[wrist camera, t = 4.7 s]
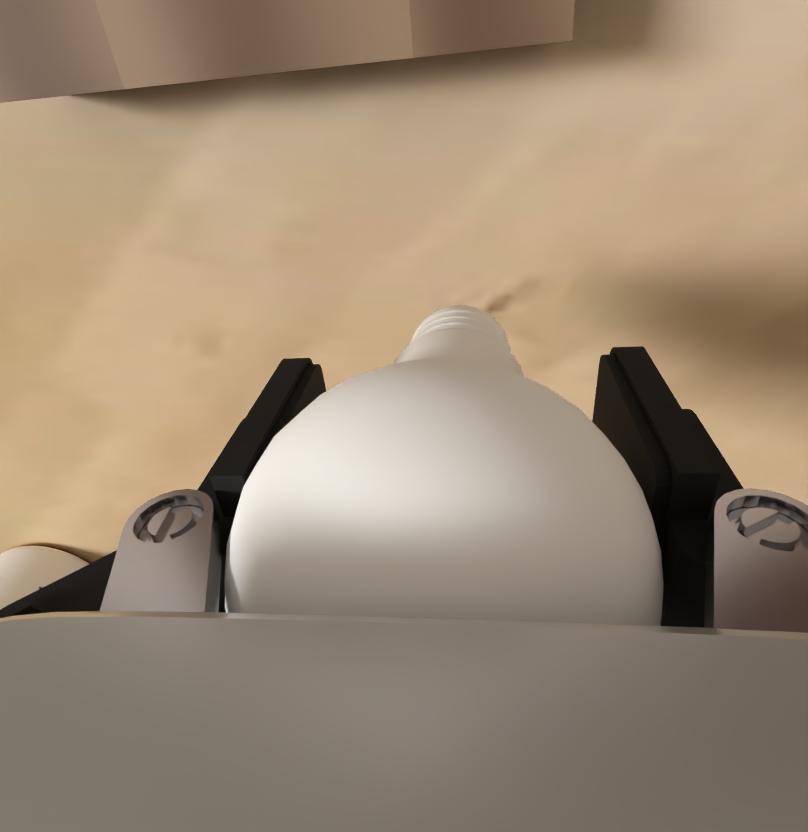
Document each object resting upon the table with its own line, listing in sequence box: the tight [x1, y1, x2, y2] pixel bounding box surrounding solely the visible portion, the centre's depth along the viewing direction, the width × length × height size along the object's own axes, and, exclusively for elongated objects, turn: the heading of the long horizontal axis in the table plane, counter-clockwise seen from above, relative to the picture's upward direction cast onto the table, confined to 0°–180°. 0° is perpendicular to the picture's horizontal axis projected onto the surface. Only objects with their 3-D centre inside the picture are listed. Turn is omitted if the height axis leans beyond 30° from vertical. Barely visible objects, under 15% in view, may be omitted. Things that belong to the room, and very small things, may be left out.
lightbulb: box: [225, 305, 663, 626], centre depth 10 cm, size 6×6×11 cm
